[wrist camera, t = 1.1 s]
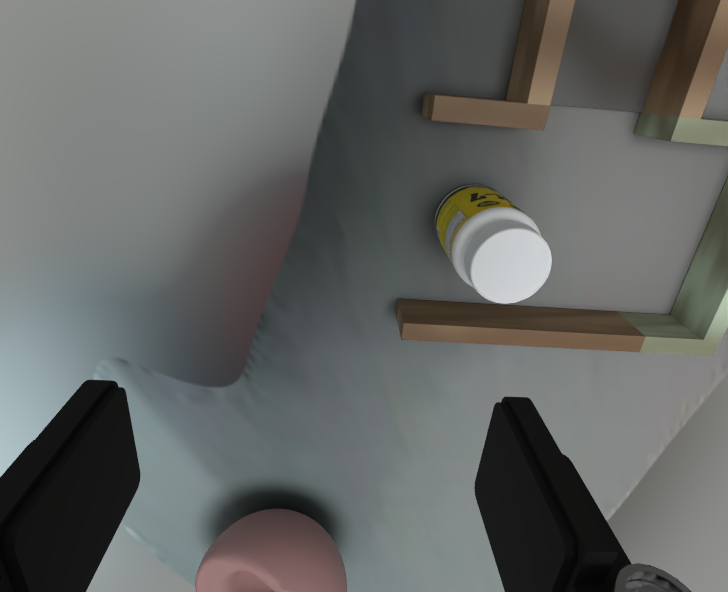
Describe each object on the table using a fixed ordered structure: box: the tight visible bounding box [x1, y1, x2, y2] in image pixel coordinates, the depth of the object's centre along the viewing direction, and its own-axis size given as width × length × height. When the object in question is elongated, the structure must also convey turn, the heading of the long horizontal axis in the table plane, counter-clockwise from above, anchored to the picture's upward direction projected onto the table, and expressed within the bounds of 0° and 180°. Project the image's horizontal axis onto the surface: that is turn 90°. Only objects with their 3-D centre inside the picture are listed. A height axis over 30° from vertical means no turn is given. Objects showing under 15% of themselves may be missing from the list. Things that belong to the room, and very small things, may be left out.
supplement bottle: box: [435, 184, 552, 304], centre depth 26 cm, size 5×5×8 cm
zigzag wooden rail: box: [396, 0, 728, 356], centre depth 27 cm, size 22×21×4 cm
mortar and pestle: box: [195, 509, 347, 592], centre depth 36 cm, size 12×12×11 cm
